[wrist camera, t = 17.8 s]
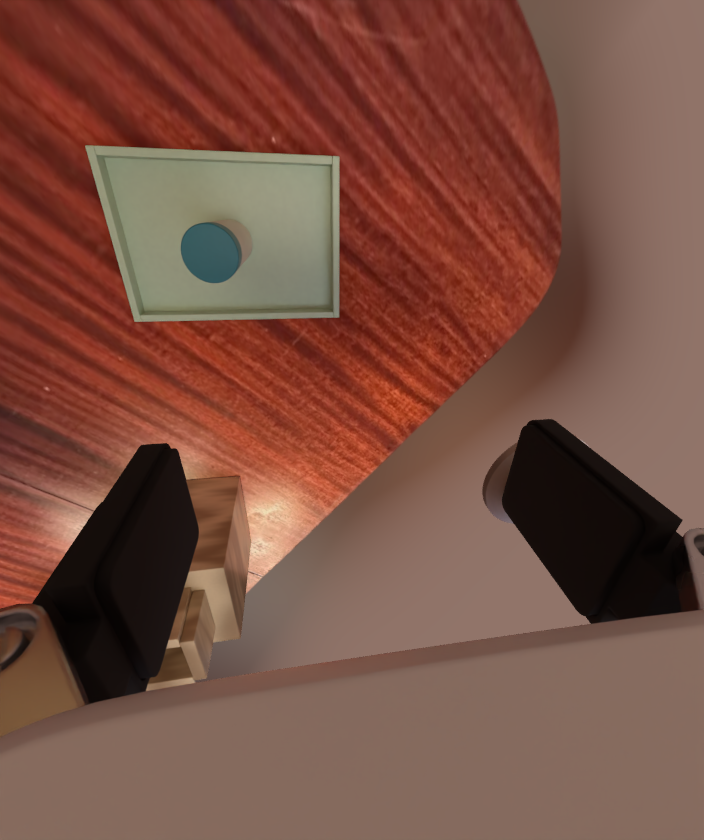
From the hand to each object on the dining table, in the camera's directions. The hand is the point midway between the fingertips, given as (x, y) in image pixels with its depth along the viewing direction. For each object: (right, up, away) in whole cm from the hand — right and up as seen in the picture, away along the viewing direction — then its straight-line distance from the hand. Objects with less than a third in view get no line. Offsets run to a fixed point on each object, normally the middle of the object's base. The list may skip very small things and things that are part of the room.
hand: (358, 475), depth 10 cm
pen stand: (-21, -11, +39) cm, 45 cm away
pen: (-11, +18, +23) cm, 31 cm away
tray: (-11, +18, +23) cm, 31 cm away
